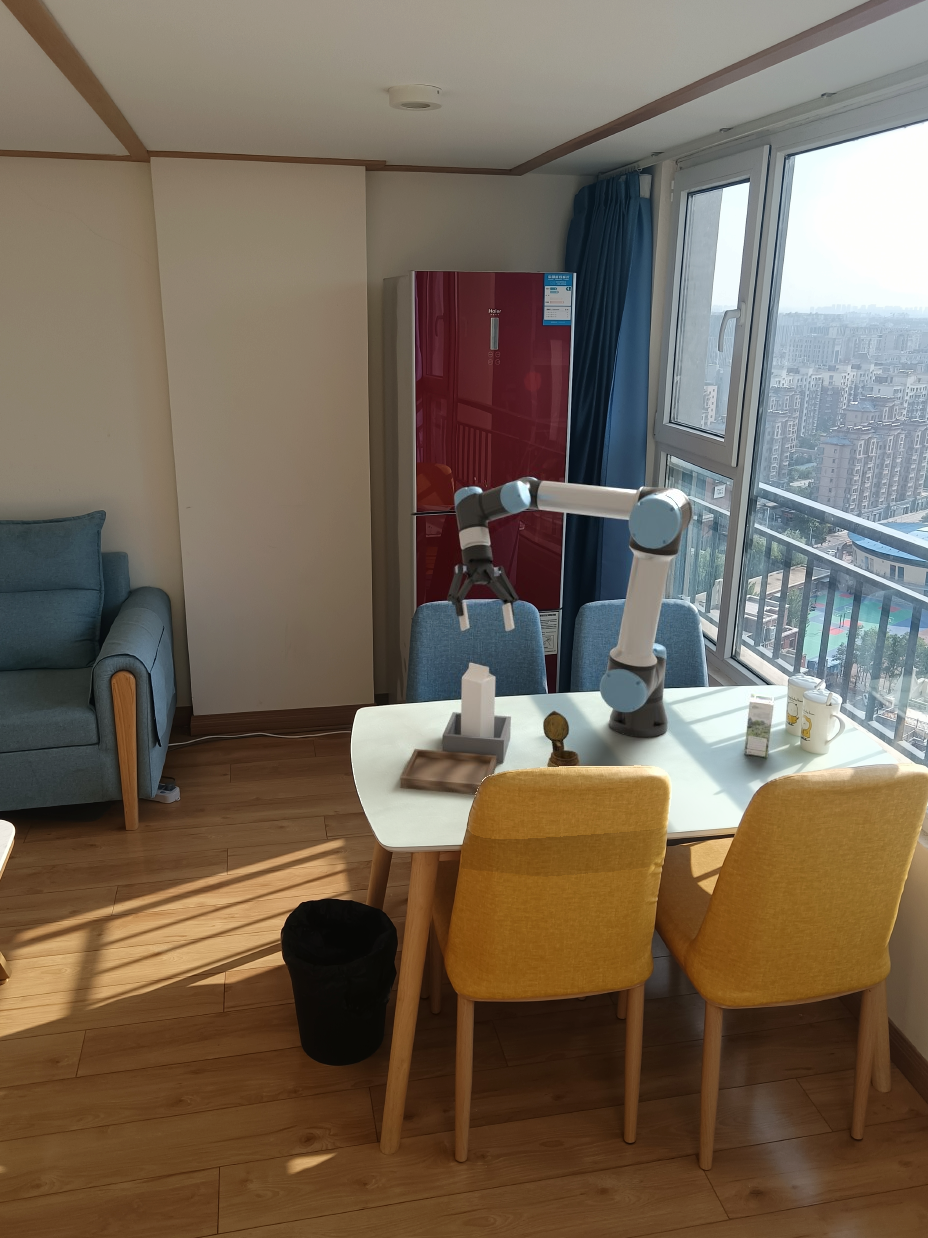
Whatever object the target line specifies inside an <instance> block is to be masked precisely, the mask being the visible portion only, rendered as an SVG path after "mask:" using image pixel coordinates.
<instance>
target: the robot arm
mask: <svg viewBox="0 0 928 1238" xmlns="http://www.w3.org/2000/svg"><path fill="white" fill-rule="evenodd" d="M527 509H530V510H539V511H541V510H542V511H548V512H549V511H550V512H558V513H567V514H568V513H569V514H576V515H584V516H591V517H592V516H593V517H600V518H602V517H603V518H608V519H609V518H611V519H617V520H628V529H629V533H630V536H629V537H630V538H629V542H628V543H629V544H628V548H629V549H630V550H631V552H632V553H633V557H632V563H631V569H630V573H629V581H628V585H627V591H626V596H625V602H624V608H623V613H622V618H621V623H620V631H619V637H618V641H617V645H616V647H613V649H610V651H609V657H608V661H607V662H608V663H607V667H606V672H605V673H604V674H603V675H602V678H601V679H600V682H599V693H600V696H601V698H602V700H603V701H604V702H605V703H606V704H607V706H608V707H610V708H611V709H612V710H611V713H610V715H609V727H610V728H611V729H612V730H614V732H615V731H616V732H617V733H620V734H623V735H625V736H630V737H635V738H651V737H657V736H661V735H663V734H664V733H665V732H667V730H668V725H669V724H668V723H669V720H668V717H667V713H666V708H665V705H664V700H663V699H664V689H665V678H666V676H665V675H666V664H667V659H668V657H667V649H666V647H665V646H663V645H662V644H659V643H656V642H655V639H656V635H657V634H656V633H657V630H658V626H659V625H658V624H659V619H660V614H661V608H662V604H663V599H664V593H665V588H666V583H667V577H668V572H669V567H670V563H671V560H672V559H673V558H675V557H677V556H678V555H679V551H680V546H681V545H680V544H681V541H682V535H683V532H684V531H686V529H687V528H688V526H689V525H690V523H691V522H692V521H691V520H692V517H693V506H692V503H691V500H690V499H689V497H688V496H687V495H686V494H685V493H684V492H683V491H681V490H680V489H677V488H673V487H653V486H652V487H651V486H641V487H640V488H639V489H629V488H618V487H610V486H599V485H588V484H579V483H569V482H559V481H551V480H550V481H549V480H539V479H537V478H535V477H530V476H527V477H521V478H518V479H517V480H514V481H511V482H510V481H509V482H507V483H505V484H503V485H499V486H497V487H495V488H491V489H488V490H486V491H483V490H482V488H481V487H479V486H469V487H462V488H460V489H458V490H457V491H456V492H455V493H454V511H455V515H456V516H455V517H456V521H457V526H458V535H459V543H460V548H461V556H462V557H461V559H462V563H459V564H457V565H455V566H454V567H453V578H452V581H451V584H450V588H449V591H448V595H447V598H446V600H447V602H451V604H452V605H453V606H455V613H456V614H455V615H456V617H458V619H459V625H460V627H459V628H460V631H462V632H463V631H466V630H468V629H470V620H469V614H468V607H467V601H464V600H465V598H466V595H467V594H468V593H469V591H470V590H471V587H472V586H473V585H486V587H489V589H491V590H492V591H493V593H494V594H495V595H496V596H497V597H498V599H499V600H500V601H501V602H502V604H503V605H502V606H501V608H502V613H503V614H502V615H503V621H504V627H505V631H506V632H509V631H511V630H513V629H515V622H514V616H515V610H514V603H516V602H518V601H519V600H520V597H519V596H518V595H517V593H516V591H515V589H514V587H513V586H512V583H511V582H510V580H509V579H508V577H507V575H506V572H505V568H504V566H503V565H500V566H497V567H494V566H493V560H494V557H493V553H492V547H491V539H490V538H491V537H490V533H489V525H488V522H492V521H495V520H497V519H500V518H504V517H505V518H506V517H507V516H511V515H514V514H518V513H521V512H523V511H525V510H527ZM464 574H465V575H466V576H467V577H466V578H465V580H464V582H463V584H462V586H461V583H462V579H463V576H464ZM460 586H461V587H460Z"/></svg>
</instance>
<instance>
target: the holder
mask: <svg viewBox="0 0 928 1238" xmlns="http://www.w3.org/2000/svg"><path fill="white" fill-rule="evenodd" d="M511 722H512V716H509V715H508V716H507V715H496V714H494V738H492V737H479V736H466V735H461V712H456V711H452V714H451V715H450V717H449V720H448V722H447V724H446V727H445V729H444V731H443V733H442V738H441V739H442V741H441V744H442V745H441V747H442V750H441V751H446V752H458V753H470V754H483V755H495V756H497V760H496V764H497V763H498V764H503V763H504V762H505V759H506V755H507V750H508V747H509V743H510V740H511V729H512V728H511V725H512V723H511Z"/></svg>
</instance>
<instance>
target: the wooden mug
mask: <svg viewBox="0 0 928 1238" xmlns="http://www.w3.org/2000/svg"><path fill="white" fill-rule="evenodd" d="M542 724H543V725H542V726H543V727H542V728H543V733H544V736H545V737H546V738H547V739H548V740H550V741H551V746H552V747H551V748H552V752H551V753H550V757H549V758H548V761H547V768H548V767H559V766H580V767H581V763H580V759H579V755H578V753H577V752H576V751H573V750H567V749H565V743H564V740H565V739H566V738H567V737H568V735H569V734H570V726H569V725H570V724H569V721H568V720H567V718H566V717H565V716H564V715H563V714H561V713H560V712H558V711H555V710H553V711H551V712H550V713H549V714H548V715H547V716H546V717H545V718H544V719H543V723H542Z"/></svg>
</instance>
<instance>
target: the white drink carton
mask: <svg viewBox="0 0 928 1238" xmlns="http://www.w3.org/2000/svg"><path fill="white" fill-rule="evenodd" d="M774 703H775V697H774V696H769V695H761V694H753V693H751V694H750V699H749V706H748V714H747V715H748V716H747V722H746V724H747V725H746V730H745V731H746V733H745V740H744V751H743V752H744V753H743V754H744V755H746V756H752V757H753V756H754V757H760V758H768V756H769V755H768V754H769V748H770V747H769V746H770V741H771V740H770V738H771V729H772V723H773V722H772V721H773V716H774V715H773V713H774Z"/></svg>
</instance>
